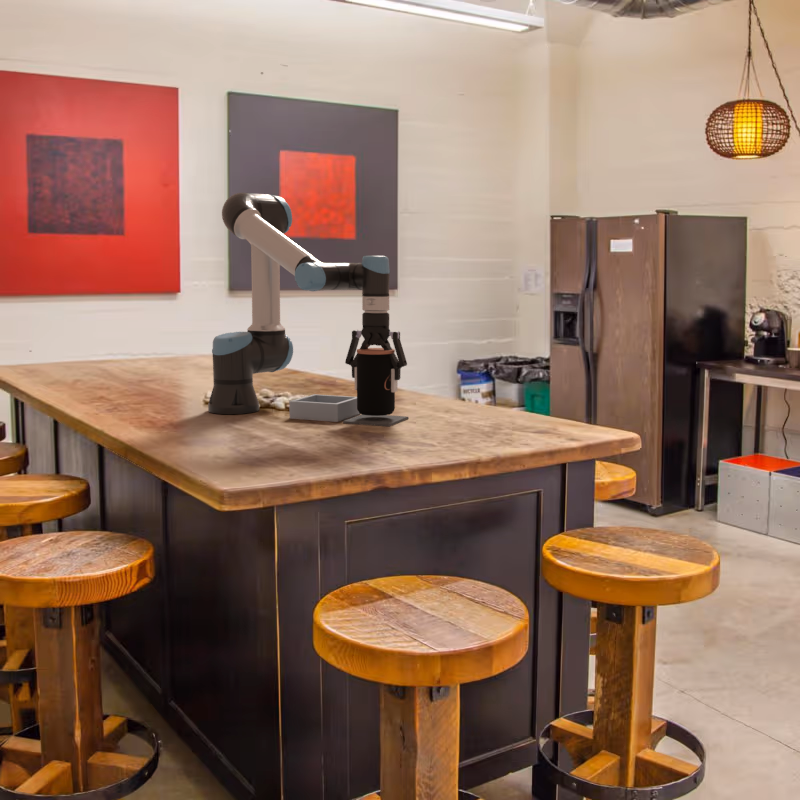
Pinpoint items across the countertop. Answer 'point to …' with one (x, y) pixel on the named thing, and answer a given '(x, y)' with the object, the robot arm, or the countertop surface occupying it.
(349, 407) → the pocket frame
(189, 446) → the countertop surface
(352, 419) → the pad
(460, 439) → the countertop surface
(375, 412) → the coffee jar
